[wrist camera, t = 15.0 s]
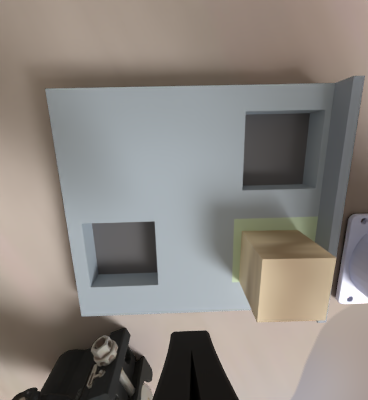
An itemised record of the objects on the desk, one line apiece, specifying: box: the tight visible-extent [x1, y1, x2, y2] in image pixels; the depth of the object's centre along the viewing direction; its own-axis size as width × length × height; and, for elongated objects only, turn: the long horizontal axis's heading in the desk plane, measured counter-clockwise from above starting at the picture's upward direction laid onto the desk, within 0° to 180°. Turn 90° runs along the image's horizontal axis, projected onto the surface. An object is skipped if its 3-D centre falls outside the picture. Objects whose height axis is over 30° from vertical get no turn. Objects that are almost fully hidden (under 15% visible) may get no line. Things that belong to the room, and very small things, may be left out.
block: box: [239, 230, 336, 322], centre depth 14 cm, size 4×4×4 cm
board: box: [45, 76, 365, 323], centre depth 16 cm, size 18×16×4 cm
